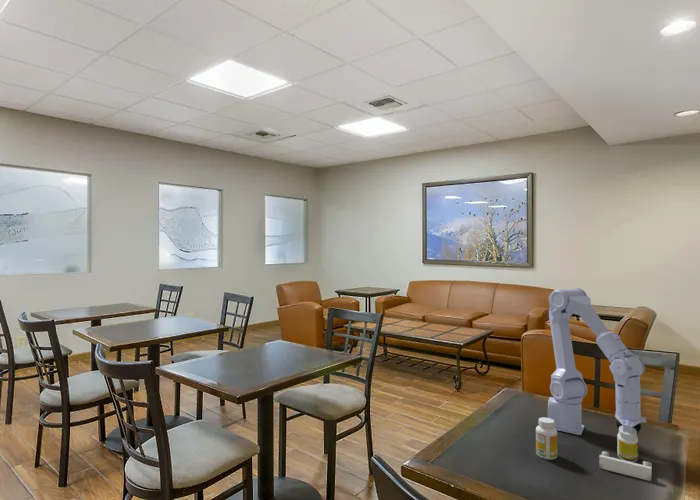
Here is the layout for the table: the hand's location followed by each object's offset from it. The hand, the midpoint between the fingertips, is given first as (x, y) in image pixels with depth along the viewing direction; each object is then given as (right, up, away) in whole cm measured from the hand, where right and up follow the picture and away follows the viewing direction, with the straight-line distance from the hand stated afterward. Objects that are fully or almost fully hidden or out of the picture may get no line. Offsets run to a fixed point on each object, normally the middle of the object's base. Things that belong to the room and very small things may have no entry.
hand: (628, 449), depth 117 cm
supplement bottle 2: (-1, -1, -1) cm, 2 cm away
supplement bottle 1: (-22, -2, 0) cm, 22 cm away
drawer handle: (-5, -2, -6) cm, 8 cm away
